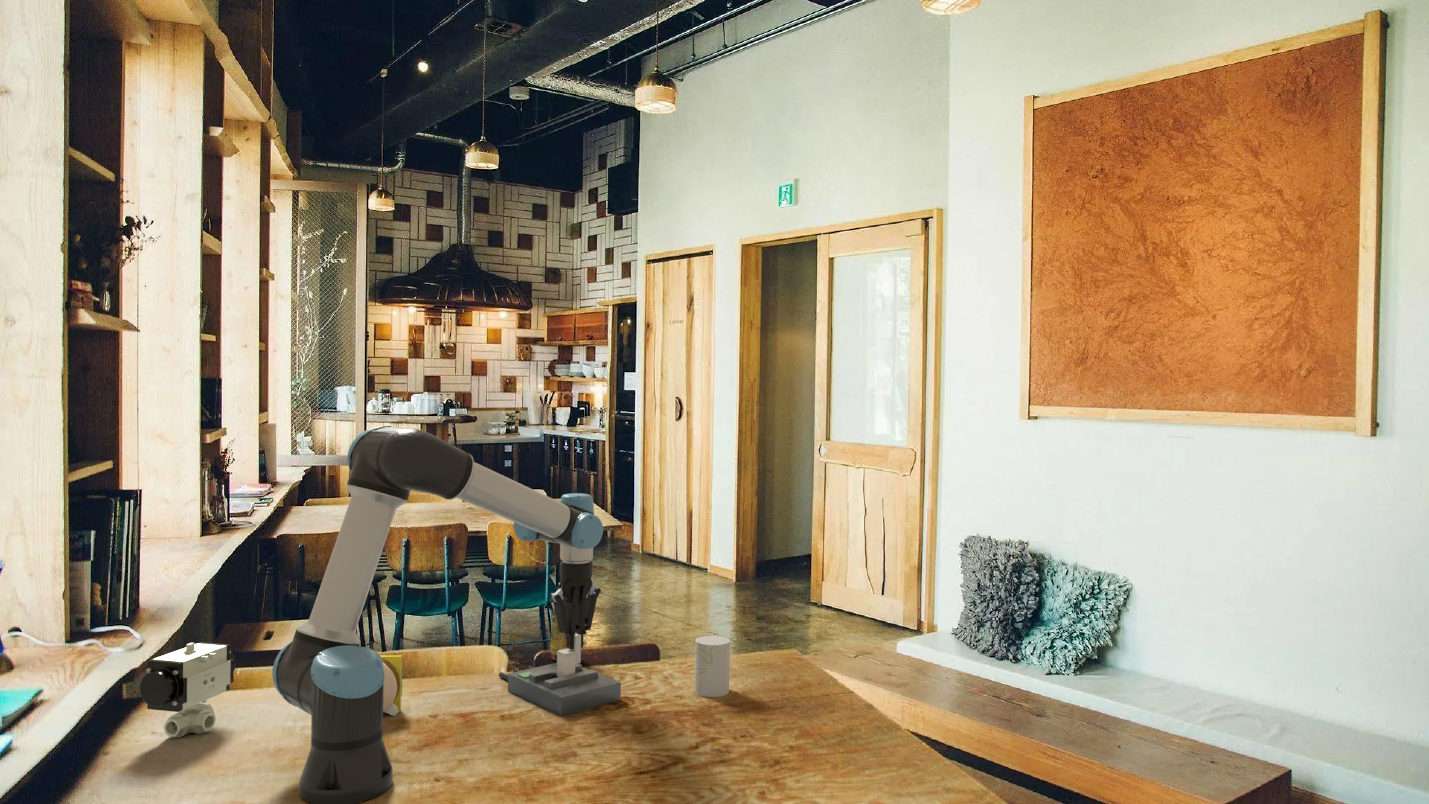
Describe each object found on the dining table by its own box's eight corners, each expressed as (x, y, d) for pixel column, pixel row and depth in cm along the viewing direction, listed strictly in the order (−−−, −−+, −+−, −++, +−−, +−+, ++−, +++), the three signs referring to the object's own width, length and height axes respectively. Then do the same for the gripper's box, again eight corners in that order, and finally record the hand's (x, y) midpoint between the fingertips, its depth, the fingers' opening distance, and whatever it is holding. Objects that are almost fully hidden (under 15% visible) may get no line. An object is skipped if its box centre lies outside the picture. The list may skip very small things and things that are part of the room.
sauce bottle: (545, 661, 236) (547, 584, 236) (556, 654, 242) (558, 579, 242) (568, 663, 234) (570, 586, 234) (579, 657, 240) (580, 581, 240)
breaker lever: (575, 676, 210) (576, 651, 210) (564, 679, 208) (564, 653, 208) (567, 673, 212) (568, 648, 212) (556, 676, 210) (556, 650, 210)
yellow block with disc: (334, 721, 192) (335, 664, 191) (347, 707, 200) (348, 652, 200) (393, 720, 192) (394, 663, 192) (403, 706, 201) (404, 652, 201)
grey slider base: (620, 700, 207) (620, 677, 207) (561, 716, 196) (561, 692, 196) (542, 667, 231) (543, 647, 231) (486, 680, 220) (486, 659, 220)
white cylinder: (689, 688, 217) (689, 637, 216) (720, 684, 220) (720, 634, 220) (703, 698, 209) (704, 646, 209) (734, 694, 213) (735, 643, 213)
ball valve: (175, 750, 175) (176, 658, 174) (137, 746, 176) (138, 654, 176) (242, 718, 192) (243, 634, 192) (207, 714, 194) (207, 631, 194)
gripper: (589, 555, 219) (588, 653, 219) (543, 561, 210) (541, 663, 210) (608, 559, 213) (606, 660, 214) (561, 566, 204) (560, 671, 205)
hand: (574, 662), depth 212 cm, fingers closed
